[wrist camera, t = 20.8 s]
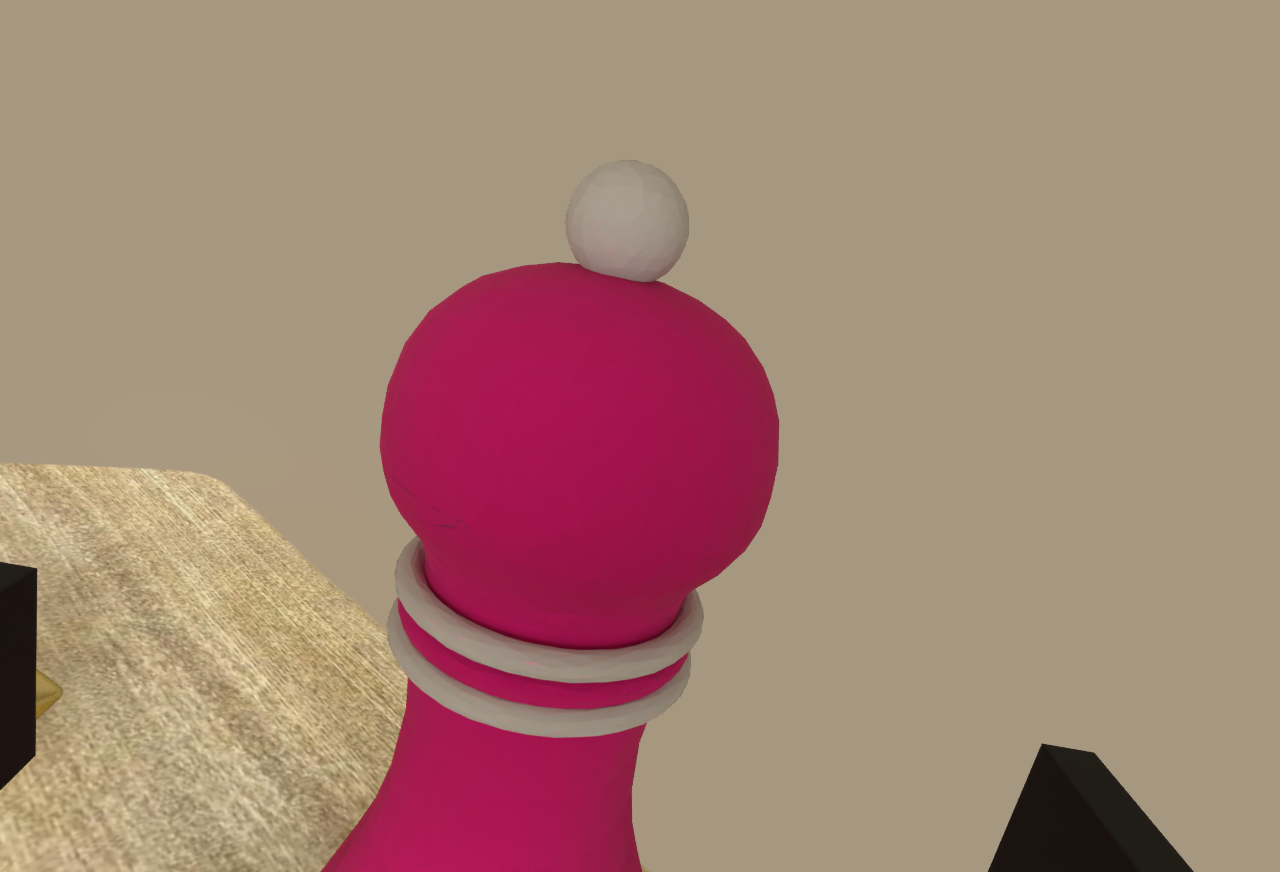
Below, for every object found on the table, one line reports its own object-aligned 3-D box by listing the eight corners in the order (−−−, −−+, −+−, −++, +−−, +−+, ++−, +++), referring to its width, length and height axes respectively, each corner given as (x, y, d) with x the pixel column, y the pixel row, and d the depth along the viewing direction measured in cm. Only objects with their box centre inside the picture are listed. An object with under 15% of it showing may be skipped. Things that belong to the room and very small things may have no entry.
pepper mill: (158, 1210, 15) (238, 65, 10) (416, 934, 22) (554, 148, 16) (474, 1511, 13) (833, 189, 7) (661, 1097, 19) (927, 230, 14)
